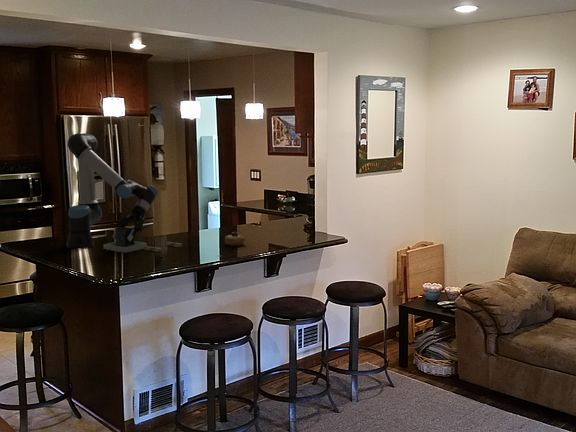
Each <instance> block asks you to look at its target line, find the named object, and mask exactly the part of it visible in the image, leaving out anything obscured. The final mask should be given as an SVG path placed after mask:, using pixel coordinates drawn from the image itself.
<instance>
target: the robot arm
mask: <svg viewBox="0 0 576 432" xmlns="http://www.w3.org/2000/svg"><path fill="white" fill-rule="evenodd" d="M67 139H68V140H67V148H68V149H69V151H70V153H72V154H73V156H74V157H75V159H77V167H78V181H79V196H80V199H79V201H78V202H77V205H72V206H70V207H69V208H68V213H67V214H68V232H69V233H68V237H67V241H66V248H68V249H75V250H78V248H79V249H88V248H87V247H89V248H92V246H93V247H95V241H94V237H93V236H92V233H91V232H92V231H91V226H92V225H95V224H97V223H98V222H99V221H100V220H101V218H102V217H103V212H102V208H101V207H100V205H99V200H97V198H96V189H95V188H96V185H95V173H96V174H97V175H98V176H99V177H100V178H102V179H103V180H104V181H105V182H106V183H107V184H108V185H109V186H111V188H113V189H114V190H115V192H116V194H117V196H118V197H119V198H121V199H127V198H130V197H135V198H137V199H138V200H137V202H136V203H135V204H134V206H133V207H132V209H131V213H130V214H128V213H126V214H125V215H124V216H123V217H122V219H120V221H119V222H116V224H115V228H120V227H126V226H128V225H129V224H131V223H133V224H134V227H133V228H132V229H133V230H132V231H131V233H130V234H129V236H128V238H127V239H128V240H129V241H131V240H132V238H133V237H134V238H135V236H136V235H137V233H138V232H142V229H143V226H144V222H145V220H146V217H145V215H146V213H147V212H148V210H149V209H150V206H152V204H153V203H154V201H155V199H156V198H157V196H158V194H159V190H158V189H157V187H155V186H154V185H150V184H148V185H147V186H143V185H141V184H139V183H137V182H135V181H133V180H130V179H127V180H125V179H123V178H122V177H121V175H120V174H118V173H117V171H115V170H114V169H113V168H112V167H110V165H108V164H107V163H106V162H105V161H104V160H103V159H102V158H101V157H100V156H98V154H97V153H96V150H97V149H98V145H99V143H98V140H97V138H96V137H95V136H94V135H92V134H90V133H85V132H84V133H73V134H72V135H70V136H69V138H67ZM111 237H112V238H113V239H114V240H116V233H115V232H114V233H113V234H112V236H111Z"/></svg>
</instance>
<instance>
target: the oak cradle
mask: <svg viewBox="0 0 576 432" xmlns="http://www.w3.org/2000/svg"><path fill="white" fill-rule="evenodd" d="M164 242H165V245H164V246H169V247H174V248H183V243H179V242H171V241H164ZM143 250H145V251H150V252H156V253H162V252H163V251H162V247H155V246H148V245H147V246H144V249H143Z"/></svg>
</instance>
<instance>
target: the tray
mask: <svg viewBox="0 0 576 432" xmlns="http://www.w3.org/2000/svg"><path fill="white" fill-rule="evenodd" d="M144 246H148V245H147V242H144V241H143V242H142V241H135V240H134V245H133V246H128V247H120V246H116V241H115V242H108V243H105V244H103V250H104V249H106V250H105V251H109V250H111V252H115V253H116V252H118V253H124V254H126V253H131V252H135V251H140V250H144Z"/></svg>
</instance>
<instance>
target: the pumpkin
mask: <svg viewBox="0 0 576 432" xmlns="http://www.w3.org/2000/svg"><path fill="white" fill-rule="evenodd" d="M237 232H239V230H238V229H236V230H235V231H232V232H231V233H230V234H227V235H225V236H224V243H225V244H226V245H227V246H229V247H240V246H241V245H242V246H243V245H244V243H245V241H246V237H245V236H242V235H239V234H238V233H237ZM242 246H241V247H242Z"/></svg>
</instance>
